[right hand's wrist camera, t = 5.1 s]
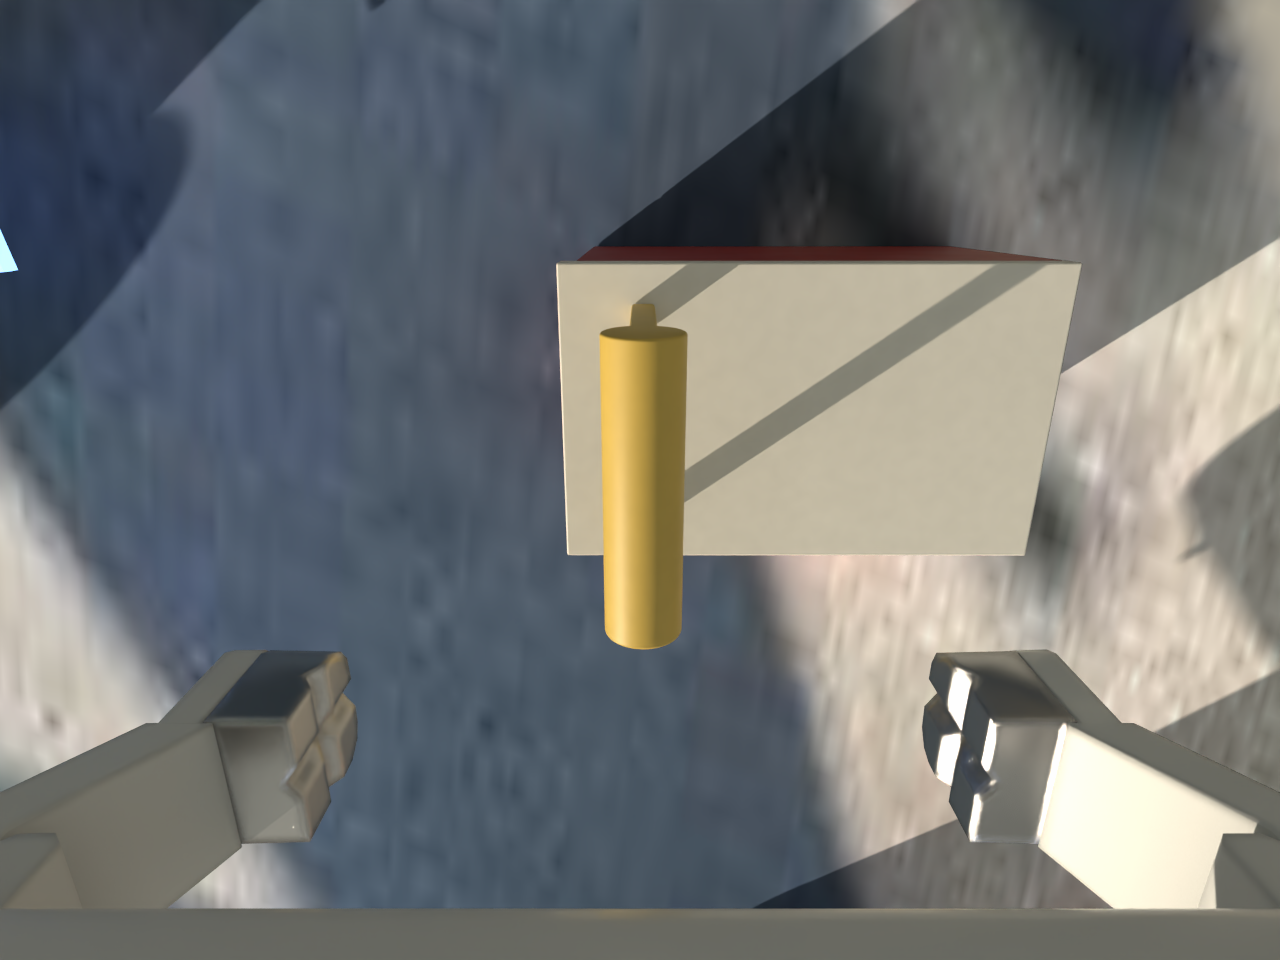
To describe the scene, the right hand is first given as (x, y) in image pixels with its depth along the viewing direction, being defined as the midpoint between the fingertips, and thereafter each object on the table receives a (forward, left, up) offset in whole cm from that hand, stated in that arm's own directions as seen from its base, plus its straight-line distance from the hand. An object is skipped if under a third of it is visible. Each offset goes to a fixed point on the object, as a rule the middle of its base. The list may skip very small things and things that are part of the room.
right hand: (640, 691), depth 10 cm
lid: (+3, +4, -15) cm, 16 cm away
